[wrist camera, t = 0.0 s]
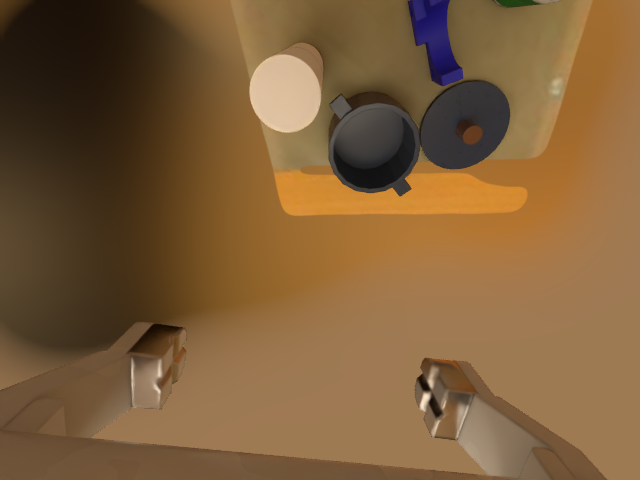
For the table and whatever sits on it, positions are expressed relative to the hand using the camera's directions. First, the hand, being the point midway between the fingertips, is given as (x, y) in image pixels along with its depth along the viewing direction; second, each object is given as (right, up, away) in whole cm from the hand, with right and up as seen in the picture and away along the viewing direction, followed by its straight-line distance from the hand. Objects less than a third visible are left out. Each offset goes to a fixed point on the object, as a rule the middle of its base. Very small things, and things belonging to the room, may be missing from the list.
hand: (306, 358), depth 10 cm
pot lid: (+27, +24, +45) cm, 58 cm away
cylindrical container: (-2, +33, +41) cm, 52 cm away
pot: (+9, +24, +47) cm, 53 cm away
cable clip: (+18, +36, +38) cm, 55 cm away
